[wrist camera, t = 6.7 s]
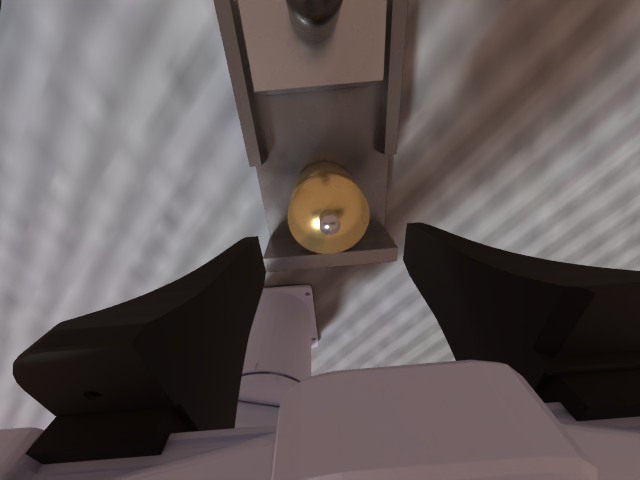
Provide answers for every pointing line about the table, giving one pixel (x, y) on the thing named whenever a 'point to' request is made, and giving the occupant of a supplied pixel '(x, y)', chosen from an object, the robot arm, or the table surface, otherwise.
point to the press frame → (319, 141)
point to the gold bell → (327, 209)
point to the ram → (314, 44)
